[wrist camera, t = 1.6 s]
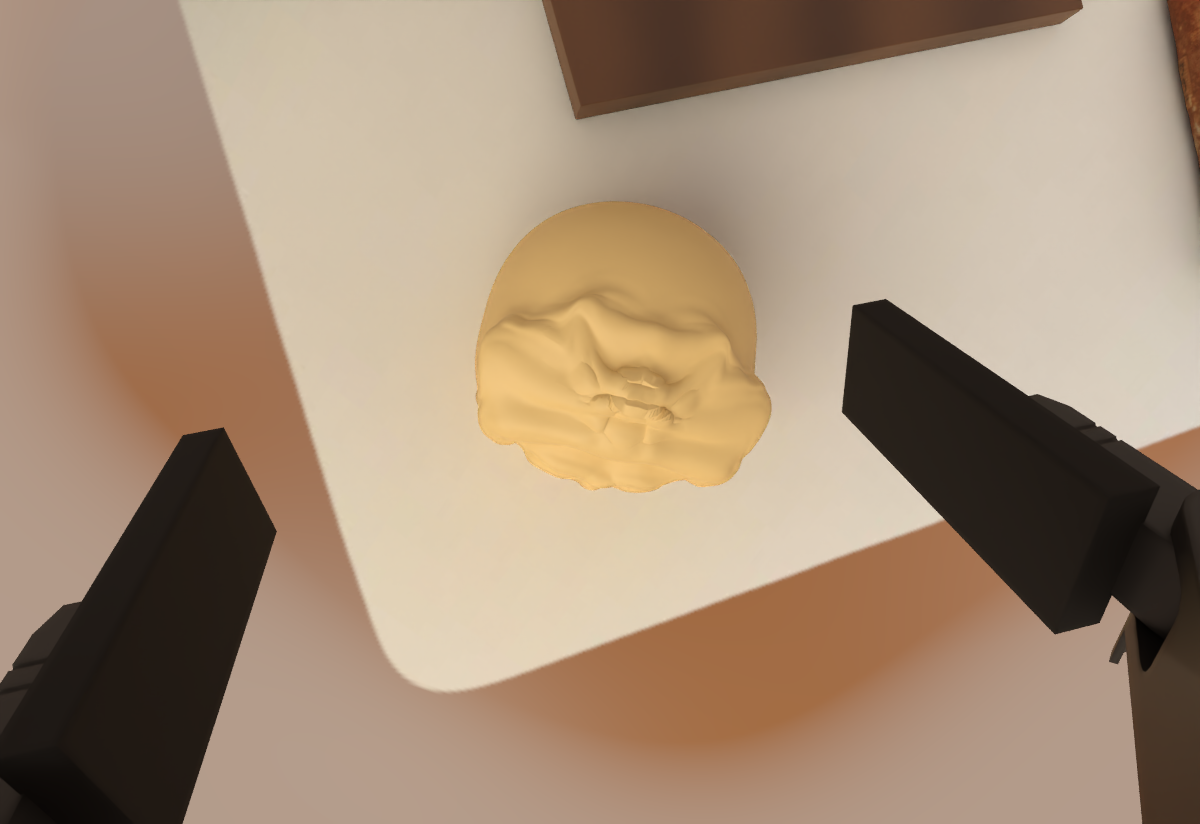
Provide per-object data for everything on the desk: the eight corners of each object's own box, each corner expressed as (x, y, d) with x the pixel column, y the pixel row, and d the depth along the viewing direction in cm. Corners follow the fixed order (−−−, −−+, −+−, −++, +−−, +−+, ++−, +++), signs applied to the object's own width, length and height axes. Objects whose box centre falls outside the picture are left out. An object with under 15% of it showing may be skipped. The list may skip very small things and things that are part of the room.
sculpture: (452, 456, 31) (445, 470, 21) (507, 213, 32) (528, 107, 22) (678, 502, 34) (777, 536, 23) (725, 274, 34) (841, 205, 24)
